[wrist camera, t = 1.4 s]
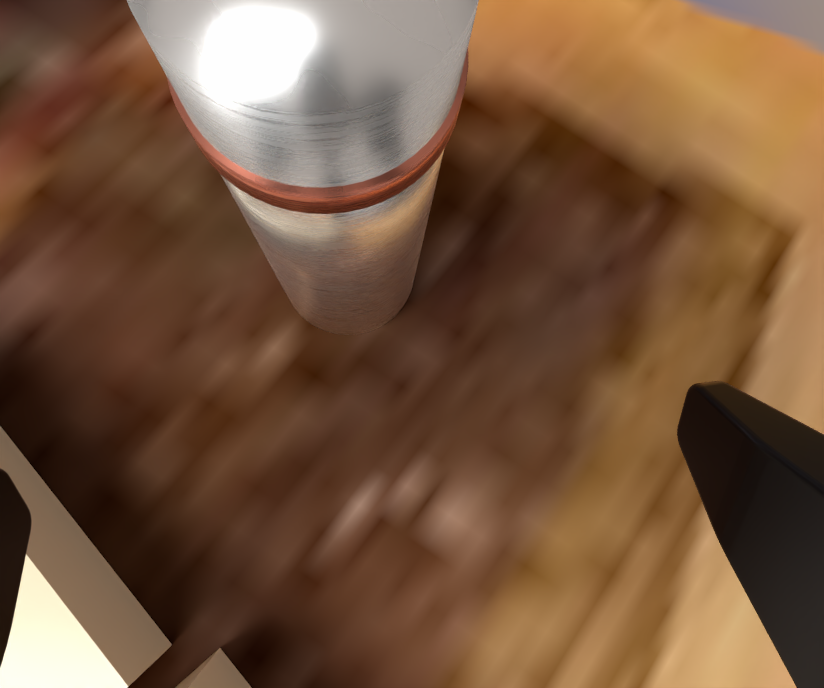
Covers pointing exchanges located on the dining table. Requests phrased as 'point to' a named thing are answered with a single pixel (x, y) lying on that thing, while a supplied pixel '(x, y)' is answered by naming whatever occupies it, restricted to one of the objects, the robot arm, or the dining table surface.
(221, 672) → the collar
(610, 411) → the dining table surface
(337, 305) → the tube
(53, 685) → the collar
